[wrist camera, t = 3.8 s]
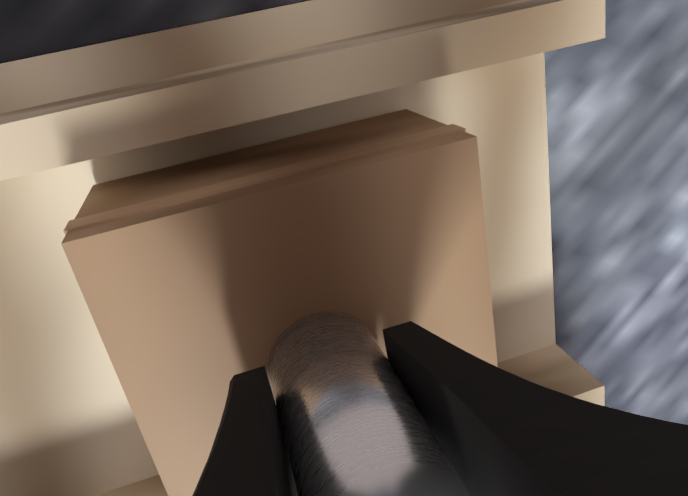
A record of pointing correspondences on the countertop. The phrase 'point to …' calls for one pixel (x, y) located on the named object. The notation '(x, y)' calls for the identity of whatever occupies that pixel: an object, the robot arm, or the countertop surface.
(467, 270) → the block with knob
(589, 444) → the robot arm
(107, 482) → the bay
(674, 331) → the countertop surface
